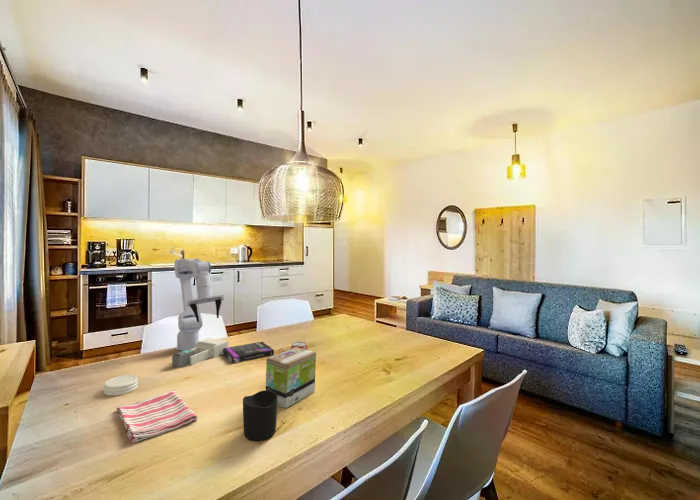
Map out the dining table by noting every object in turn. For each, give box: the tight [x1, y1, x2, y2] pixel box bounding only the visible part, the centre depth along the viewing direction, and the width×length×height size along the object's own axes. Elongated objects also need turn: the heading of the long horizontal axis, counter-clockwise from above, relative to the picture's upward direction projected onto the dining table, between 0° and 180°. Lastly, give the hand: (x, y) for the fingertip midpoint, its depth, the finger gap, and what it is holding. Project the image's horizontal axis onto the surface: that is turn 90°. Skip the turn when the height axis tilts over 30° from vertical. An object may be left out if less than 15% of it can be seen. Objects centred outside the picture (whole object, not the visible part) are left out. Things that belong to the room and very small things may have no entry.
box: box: [222, 341, 275, 364], centre depth 154 cm, size 14×4×20 cm
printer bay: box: [189, 337, 229, 366], centre depth 150 cm, size 12×19×5 cm, turn 157°
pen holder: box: [242, 389, 278, 443], centre depth 93 cm, size 9×9×10 cm
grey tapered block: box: [171, 349, 195, 369], centre depth 141 cm, size 4×8×6 cm, turn 157°
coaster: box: [103, 374, 139, 397], centre depth 117 cm, size 10×10×4 cm
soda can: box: [289, 341, 309, 350], centre depth 134 cm, size 7×7×12 cm
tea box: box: [265, 347, 317, 409], centre depth 114 cm, size 15×10×15 cm, turn 148°
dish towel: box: [116, 390, 198, 444], centre depth 100 cm, size 17×23×4 cm
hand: (208, 319), depth 139 cm, fingers open, 7 cm apart
